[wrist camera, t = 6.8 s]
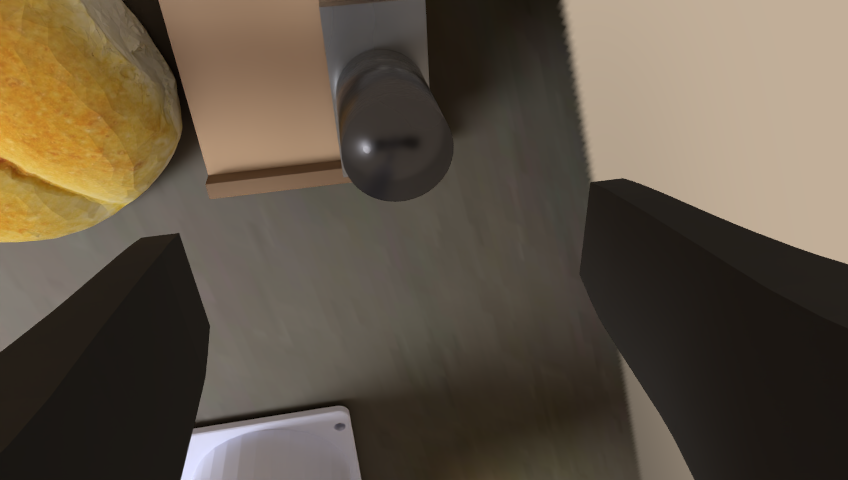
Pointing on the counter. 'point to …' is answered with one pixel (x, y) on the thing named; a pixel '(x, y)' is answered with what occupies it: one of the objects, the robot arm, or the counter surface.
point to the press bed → (257, 93)
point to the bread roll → (78, 115)
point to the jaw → (384, 97)
